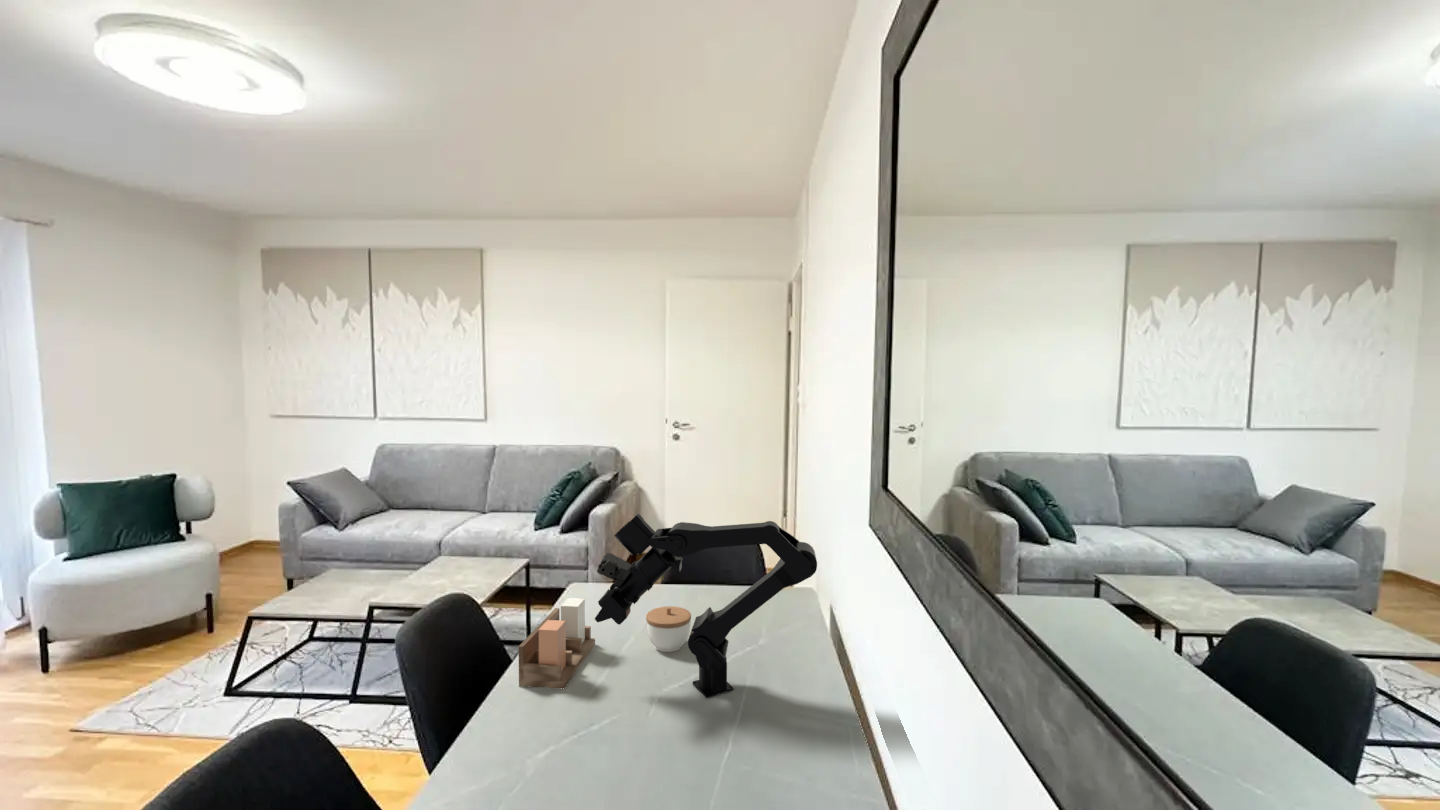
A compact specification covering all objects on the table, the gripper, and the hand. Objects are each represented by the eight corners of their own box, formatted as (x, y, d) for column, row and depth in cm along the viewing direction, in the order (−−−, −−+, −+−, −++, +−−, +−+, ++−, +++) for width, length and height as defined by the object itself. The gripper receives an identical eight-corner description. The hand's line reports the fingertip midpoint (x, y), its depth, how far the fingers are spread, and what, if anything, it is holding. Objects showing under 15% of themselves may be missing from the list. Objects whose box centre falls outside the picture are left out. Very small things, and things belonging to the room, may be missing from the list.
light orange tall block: (565, 665, 131) (565, 620, 130) (557, 677, 126) (557, 630, 125) (548, 664, 131) (547, 619, 131) (538, 676, 126) (538, 629, 126)
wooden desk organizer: (595, 644, 145) (594, 609, 145) (564, 689, 125) (564, 648, 124) (555, 642, 146) (555, 608, 146) (518, 686, 125) (518, 646, 125)
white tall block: (584, 639, 144) (584, 598, 143) (578, 649, 139) (577, 606, 138) (568, 639, 144) (568, 598, 144) (561, 648, 139) (560, 605, 139)
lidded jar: (693, 637, 149) (694, 600, 149) (687, 657, 139) (687, 617, 138) (651, 635, 150) (651, 598, 150) (641, 655, 140) (641, 615, 139)
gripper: (631, 531, 135) (584, 577, 137) (608, 555, 117) (553, 609, 118) (666, 567, 135) (618, 613, 136) (648, 597, 116) (593, 650, 118)
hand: (596, 620), depth 127 cm, fingers closed
